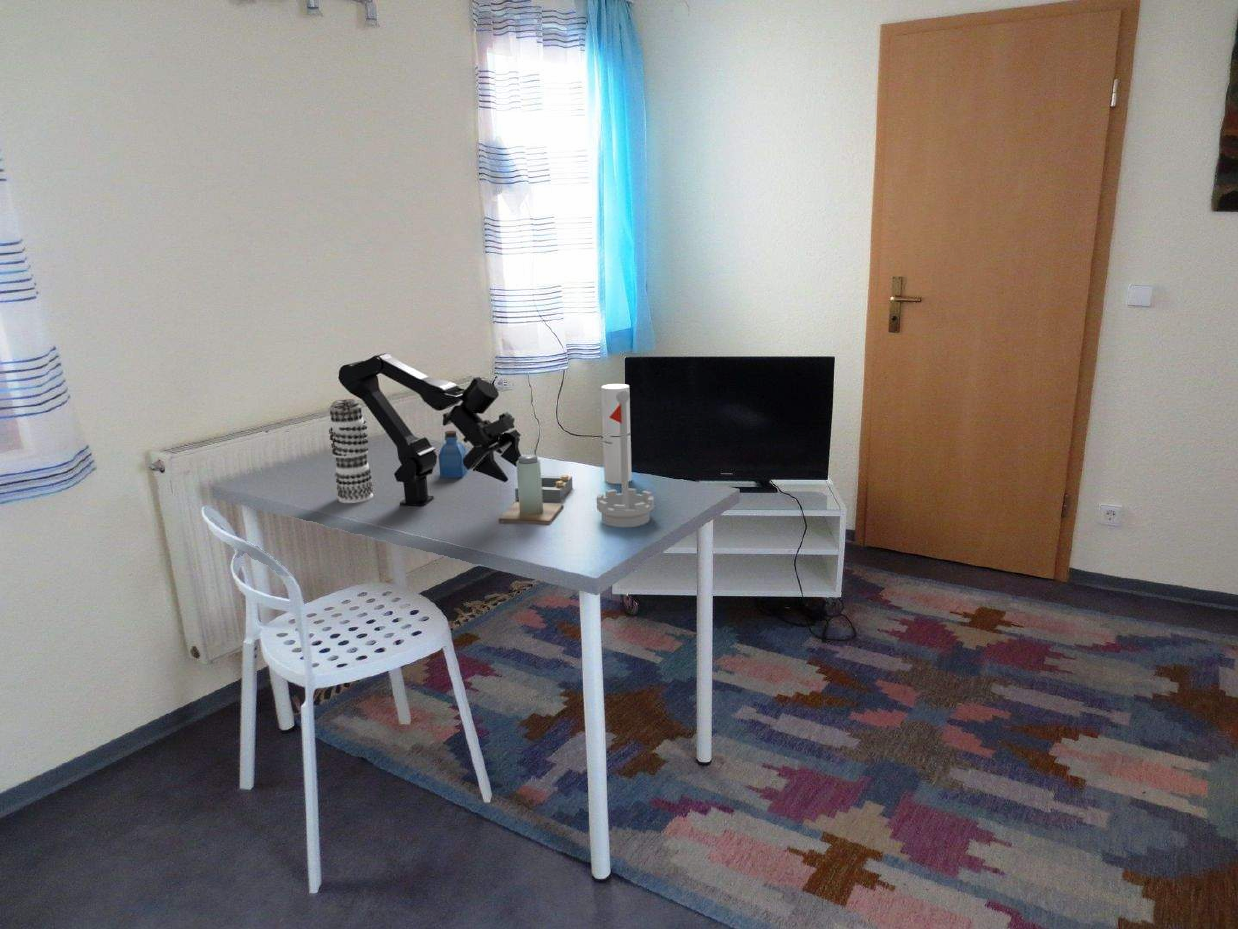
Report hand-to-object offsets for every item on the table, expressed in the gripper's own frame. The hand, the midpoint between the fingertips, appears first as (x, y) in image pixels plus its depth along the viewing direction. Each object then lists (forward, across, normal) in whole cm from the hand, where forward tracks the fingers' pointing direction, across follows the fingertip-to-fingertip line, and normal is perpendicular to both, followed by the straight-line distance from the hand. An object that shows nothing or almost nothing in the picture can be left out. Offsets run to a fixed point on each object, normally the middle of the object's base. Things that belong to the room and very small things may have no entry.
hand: (516, 475), depth 199 cm
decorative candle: (-25, -2, +39) cm, 46 cm away
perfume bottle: (-16, +24, +30) cm, 41 cm away
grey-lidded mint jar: (+8, 0, +4) cm, 9 cm away
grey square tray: (+6, +15, +7) cm, 18 cm away
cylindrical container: (+16, +32, -2) cm, 35 cm away
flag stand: (+25, +4, -12) cm, 28 cm away
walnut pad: (+9, 0, +4) cm, 10 cm away
